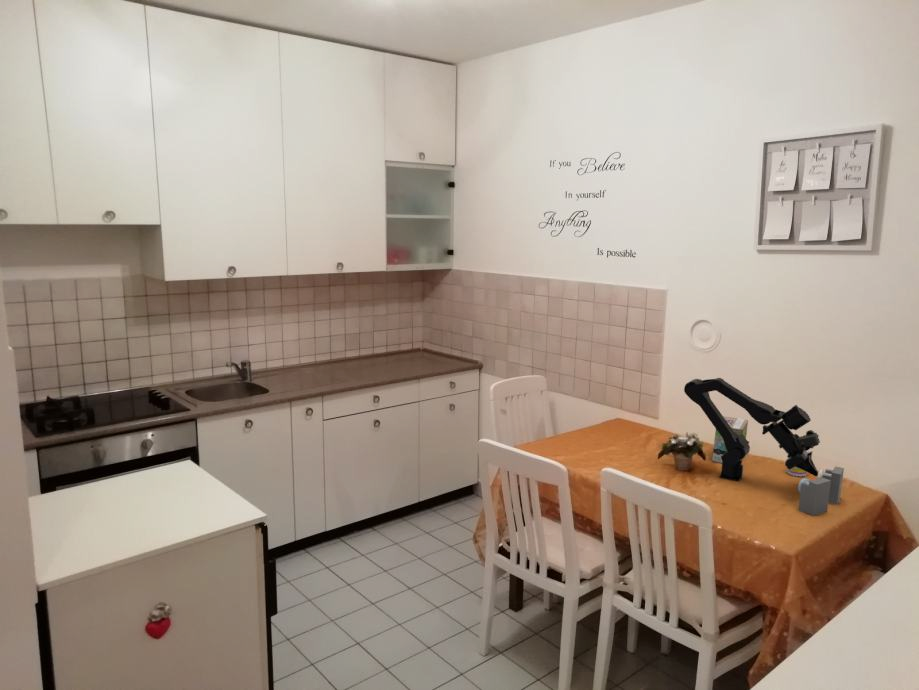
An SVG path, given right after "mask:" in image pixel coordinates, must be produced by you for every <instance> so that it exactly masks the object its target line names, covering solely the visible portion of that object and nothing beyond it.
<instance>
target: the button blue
mask: <svg viewBox="0 0 919 690" xmlns="http://www.w3.org/2000/svg"><path fill="white" fill-rule="evenodd" d="M809 481H811V480H810V479H809V478H806V477H803V478H801V480H800V481H799V483H798V485H797V490H798V492H799V493H800V491H801V483H807V484H809Z"/></svg>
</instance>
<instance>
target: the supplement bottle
mask: <svg viewBox="0 0 919 690" xmlns="http://www.w3.org/2000/svg"><path fill="white" fill-rule="evenodd" d="M805 452H808V453H810V449H809V450H807V451H805ZM786 473H787V474H789V475H790V476H793V477H798V476H799V477H801V478H802V476H803V477H806V476H807V475H808V474H807V473H808V472H806V471H804V470H802V469H800V468H798V467H793V468H791V469H790V470H789V469H788V468H787V467H786Z"/></svg>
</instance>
